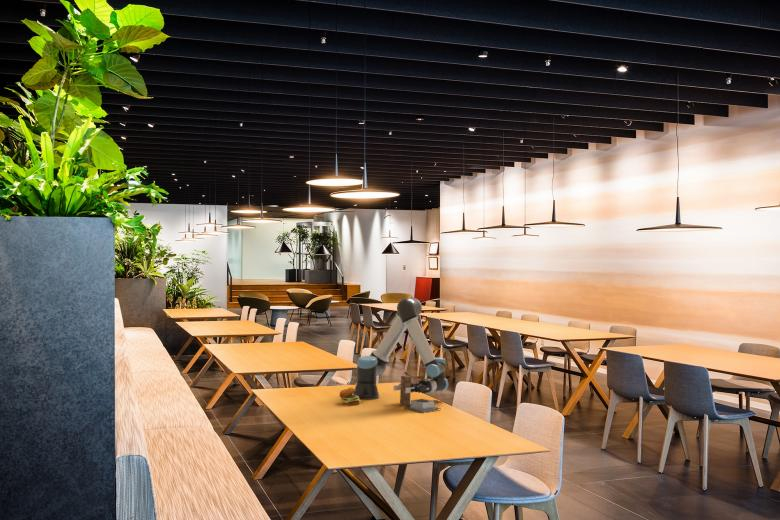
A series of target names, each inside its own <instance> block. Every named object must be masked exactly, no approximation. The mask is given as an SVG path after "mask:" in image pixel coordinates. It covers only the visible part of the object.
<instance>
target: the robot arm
mask: <svg viewBox="0 0 780 520" xmlns="http://www.w3.org/2000/svg"><path fill="white" fill-rule="evenodd" d="M422 309H423V306H422V303H421V302H420V300H419V299H418V298H415V297H404V298H402V299H400V300H399V301H398V303H397V306H396V312H395V316H396V317H395V319H394V320H393V321H392V323H391V325H390V327H389V328H388V330H387V332H386V333H385V335H384V336H383V338H382V340H381V342H380V343H379V345H378V347H376V349H374V350H372V351H371V353H370V355H364V356H363V355H362V356H359V358H357V363H356V383H355V387H354V389H355V390H356V391H355V392H354V393H353V394H352V395H357V396H359V399H360V400H375V399H377V400H378V399H379V395H380V394H379V391H378V387H377V385H378V384H377V377H378V376H380V375H383V373H384V372H385V371H386V369H387V365H388V364H389V363H390V362H389V361H390V359H389V357H390V355H391V354H392V352H393V351H394V349H395V348H396V346H397V344H398V342H399V341H400V339H401V337H403V334H404V333H405V331H406V329H407V331H408V333H409V336H410V338H411V340H412V341H413V344H414V346H415V348H416V350H417V352H418V355H419V357H420V359H421V361H422V363H423V365H424V367H425V373H426V375H427V377H429V378H427V379H421V380H420V381H419V382H416V383H414V382H411V388H406V390H405V393H418V394H419V393H421V394H427V393H429V394H432V393H435V392H442V391H446V390H447V389H448V388H449V381H448V379H447V378H446V359H445V358H444V357H436V356H435V354H434V352H433V349H432V348H431V346H430V343H429V342H428V339H427V337H426V335H425V333H424V330H423V329H422V326H421V325H420V321H419V320H418V319H419V315H421V312H422ZM392 388H393V392H395V391H401V383H399V384H395V385H393V387H392Z"/></svg>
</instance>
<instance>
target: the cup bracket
mask: <svg viewBox="0 0 780 520" xmlns="http://www.w3.org/2000/svg"><path fill="white" fill-rule="evenodd" d="M403 409H405V410H409V411H412V410H413V412H417V413H421V412H422V414H424V412H426V413H431V412H430V411H433V412H435V411H434V410H438V409H440V410H441V407H436V406H435V401H434V400H429V399H425V398H419V399H412V400H411V399H410V405H408V406H403Z"/></svg>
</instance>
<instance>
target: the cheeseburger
mask: <svg viewBox="0 0 780 520" xmlns="http://www.w3.org/2000/svg"><path fill="white" fill-rule="evenodd" d="M355 391H356V390H355V387H350V386H349V387H348V388H346V389H342V390H340V391H339V398H341V401H342V404H343V405H347V406H353V405H360V403H361V399H359V396H357V395H353V393H354V392H355Z"/></svg>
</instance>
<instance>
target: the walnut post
mask: <svg viewBox="0 0 780 520" xmlns="http://www.w3.org/2000/svg"><path fill="white" fill-rule="evenodd" d="M411 383H412V376H411V375H401V376H400V384H401V390H399V391H400V393H399V394H400V395H399V405H400V406H403V405H404V406H403V407H405V406H406V405H408V406H411V393H405V390H406V388H411Z"/></svg>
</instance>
